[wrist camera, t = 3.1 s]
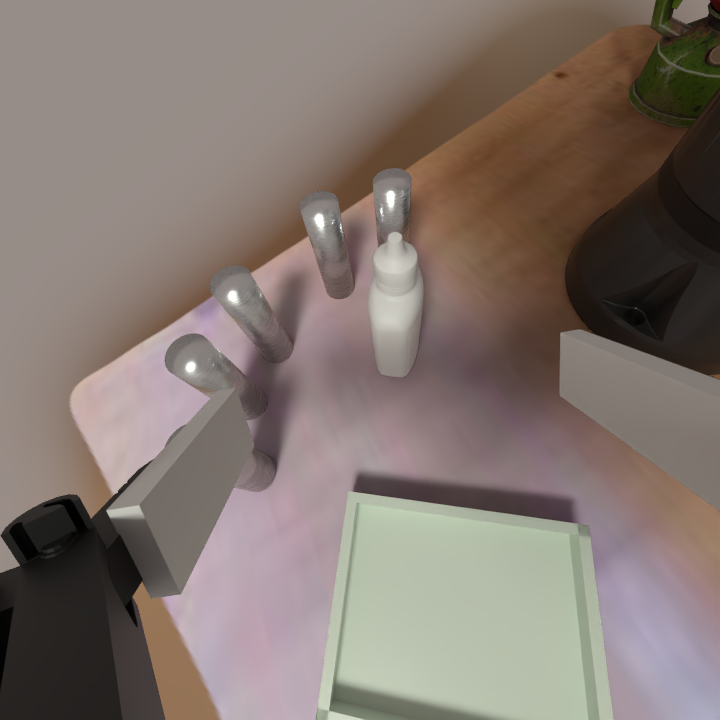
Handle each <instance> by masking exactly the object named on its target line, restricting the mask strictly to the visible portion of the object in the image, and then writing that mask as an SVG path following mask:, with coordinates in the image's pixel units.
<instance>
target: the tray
mask: <svg viewBox="0 0 720 720" xmlns="http://www.w3.org/2000/svg"><path fill="white" fill-rule="evenodd" d="M316 720H613V713H612V705H611V697H610V689H609V682H608V674H607V666H606V658H605V650H604V642H603V634H602V626H601V618H600V610H599V602H598V594H597V587H596V579H595V571H594V563H593V555H592V547H591V539H590V531H589V525H583V524H576V523H569V522H562V521H555V520H548V519H541V518H534V517H527V516H520V515H513V514H506V513H499V512H492V511H485V510H477V509H470V508H463V507H456V506H449V505H442V504H435V503H428V502H421V501H414V500H407V499H400V498H393V497H386V496H379V495H372V494H365V493H357V492H350V491H348V497H347V504H346V511H345V518H344V525H343V532H342V539H341V546H340V553H339V560H338V567H337V574H336V581H335V588H334V595H333V602H332V609H331V616H330V623H329V630H328V638H327V645H326V652H325V659H324V666H323V673H322V680H321V687H320V694H319V701H318V708H317V715H316Z"/></svg>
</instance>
